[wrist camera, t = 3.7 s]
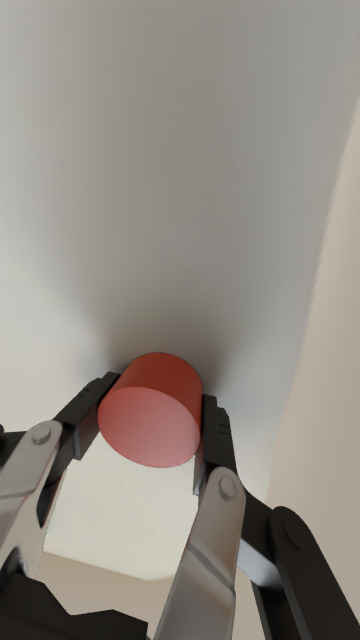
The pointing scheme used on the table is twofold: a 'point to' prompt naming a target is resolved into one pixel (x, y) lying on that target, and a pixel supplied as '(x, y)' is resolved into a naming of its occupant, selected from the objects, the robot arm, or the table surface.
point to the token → (154, 411)
